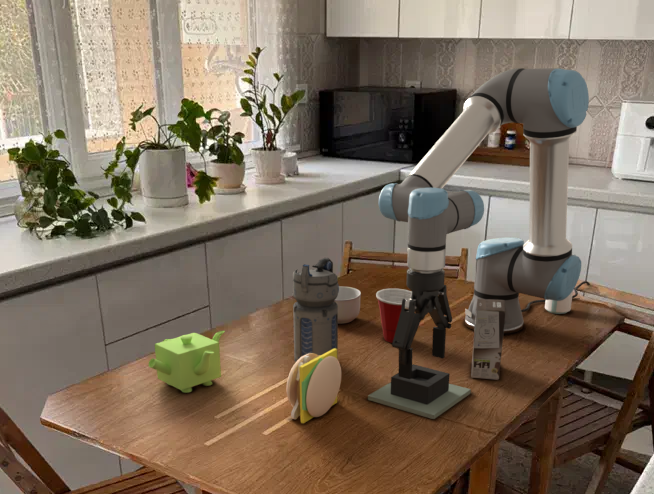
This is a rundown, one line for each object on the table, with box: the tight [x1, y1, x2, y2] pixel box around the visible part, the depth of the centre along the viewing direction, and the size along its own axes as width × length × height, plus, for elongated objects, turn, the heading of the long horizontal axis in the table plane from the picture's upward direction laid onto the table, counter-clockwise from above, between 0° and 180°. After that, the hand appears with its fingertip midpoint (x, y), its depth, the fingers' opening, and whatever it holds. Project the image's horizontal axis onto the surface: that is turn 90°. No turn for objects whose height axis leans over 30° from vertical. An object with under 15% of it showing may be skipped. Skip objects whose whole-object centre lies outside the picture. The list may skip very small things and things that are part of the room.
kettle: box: [148, 330, 226, 394], centre depth 171 cm, size 15×14×11 cm
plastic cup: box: [375, 288, 412, 344], centre depth 197 cm, size 11×11×12 cm
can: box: [544, 290, 574, 315], centre depth 218 cm, size 7×7×12 cm
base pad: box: [367, 377, 472, 420], centre depth 166 cm, size 16×16×4 cm
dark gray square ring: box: [390, 363, 451, 405], centre depth 166 cm, size 9×9×4 cm
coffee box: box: [470, 299, 506, 381], centre depth 176 cm, size 9×6×16 cm
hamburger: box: [285, 348, 342, 424], centre depth 158 cm, size 12×8×12 cm
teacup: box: [335, 286, 362, 325], centre depth 213 cm, size 14×11×8 cm
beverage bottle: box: [292, 257, 340, 363], centre depth 179 cm, size 10×13×25 cm
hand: (422, 366), depth 164 cm, fingers open, 13 cm apart
